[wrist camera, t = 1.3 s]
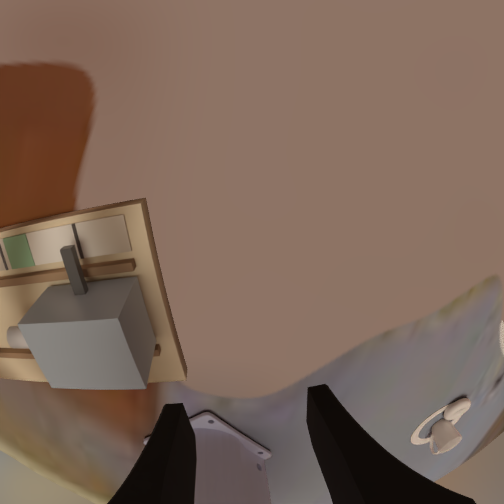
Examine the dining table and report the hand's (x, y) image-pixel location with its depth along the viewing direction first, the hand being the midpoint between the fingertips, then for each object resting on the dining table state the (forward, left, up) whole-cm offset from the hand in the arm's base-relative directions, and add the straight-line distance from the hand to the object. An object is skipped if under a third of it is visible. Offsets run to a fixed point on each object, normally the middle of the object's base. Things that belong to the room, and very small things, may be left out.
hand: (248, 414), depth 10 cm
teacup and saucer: (-33, -10, -10) cm, 35 cm away
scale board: (+7, +11, -9) cm, 16 cm away
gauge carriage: (+6, +8, -8) cm, 12 cm away
